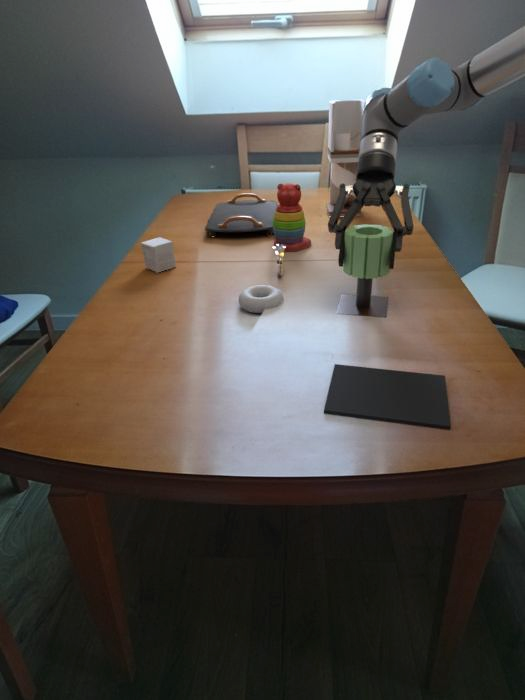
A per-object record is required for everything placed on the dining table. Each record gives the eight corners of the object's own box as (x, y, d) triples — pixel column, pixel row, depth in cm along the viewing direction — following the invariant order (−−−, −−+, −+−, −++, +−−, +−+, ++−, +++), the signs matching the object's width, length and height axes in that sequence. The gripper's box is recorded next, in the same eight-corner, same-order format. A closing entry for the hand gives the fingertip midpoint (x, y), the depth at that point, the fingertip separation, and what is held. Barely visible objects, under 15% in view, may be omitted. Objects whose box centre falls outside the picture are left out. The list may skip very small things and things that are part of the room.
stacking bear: (313, 242, 138) (313, 180, 129) (301, 254, 131) (301, 188, 121) (279, 239, 142) (278, 178, 133) (266, 250, 135) (263, 186, 125)
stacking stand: (387, 302, 102) (391, 263, 97) (385, 324, 93) (390, 282, 89) (341, 299, 104) (343, 261, 99) (335, 320, 96) (337, 279, 91)
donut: (270, 293, 109) (231, 302, 105) (270, 279, 107) (230, 288, 103) (292, 309, 101) (250, 319, 97) (292, 294, 99) (250, 304, 96)
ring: (285, 280, 115) (284, 249, 111) (272, 280, 115) (271, 249, 111) (286, 269, 121) (285, 239, 117) (274, 270, 121) (273, 240, 117)
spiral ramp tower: (326, 209, 170) (329, 101, 152) (355, 208, 170) (362, 99, 152) (328, 217, 161) (332, 103, 142) (359, 216, 160) (367, 101, 142)
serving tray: (277, 238, 143) (276, 218, 140) (202, 240, 144) (200, 220, 141) (278, 206, 176) (277, 189, 173) (217, 208, 178) (215, 192, 174)
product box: (145, 268, 126) (140, 242, 122) (163, 262, 130) (159, 236, 126) (157, 274, 122) (153, 247, 118) (176, 267, 126) (172, 240, 122)
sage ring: (389, 263, 96) (393, 224, 92) (388, 280, 89) (392, 239, 85) (346, 261, 99) (347, 223, 95) (341, 277, 91) (342, 237, 87)
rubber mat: (444, 378, 77) (445, 375, 76) (450, 429, 66) (451, 426, 66) (334, 366, 81) (334, 364, 81) (323, 413, 70) (323, 410, 70)
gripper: (321, 151, 94) (307, 253, 89) (435, 150, 89) (427, 259, 84) (325, 174, 101) (312, 270, 96) (430, 174, 96) (422, 275, 91)
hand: (365, 264), depth 90 cm, fingers closed on sage ring, 9 cm apart
